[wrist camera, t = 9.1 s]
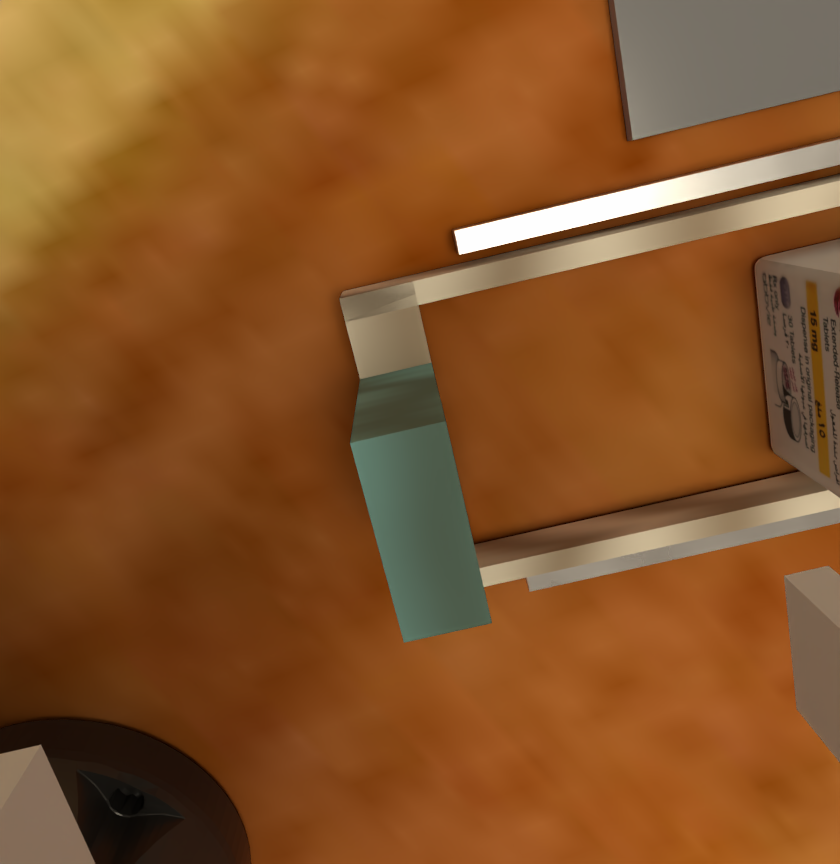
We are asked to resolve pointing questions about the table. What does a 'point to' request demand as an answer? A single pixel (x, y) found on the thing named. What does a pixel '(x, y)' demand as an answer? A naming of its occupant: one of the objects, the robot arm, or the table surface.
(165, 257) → the table surface
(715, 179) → the lanes
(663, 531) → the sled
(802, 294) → the container
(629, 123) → the coaster
